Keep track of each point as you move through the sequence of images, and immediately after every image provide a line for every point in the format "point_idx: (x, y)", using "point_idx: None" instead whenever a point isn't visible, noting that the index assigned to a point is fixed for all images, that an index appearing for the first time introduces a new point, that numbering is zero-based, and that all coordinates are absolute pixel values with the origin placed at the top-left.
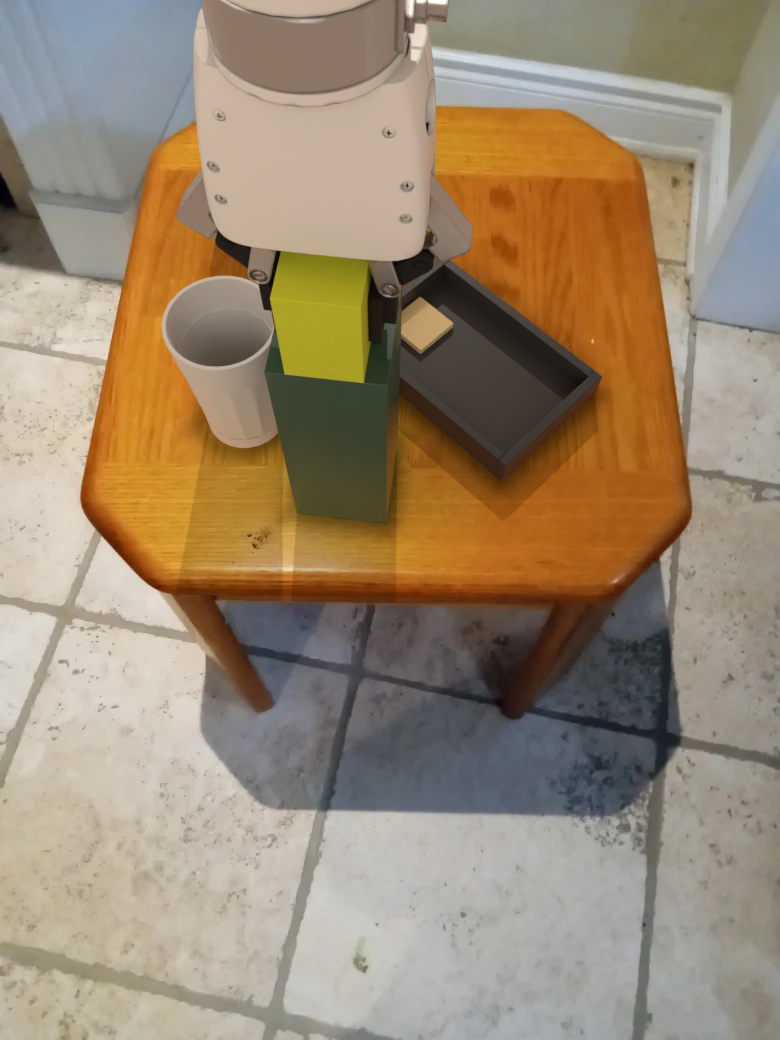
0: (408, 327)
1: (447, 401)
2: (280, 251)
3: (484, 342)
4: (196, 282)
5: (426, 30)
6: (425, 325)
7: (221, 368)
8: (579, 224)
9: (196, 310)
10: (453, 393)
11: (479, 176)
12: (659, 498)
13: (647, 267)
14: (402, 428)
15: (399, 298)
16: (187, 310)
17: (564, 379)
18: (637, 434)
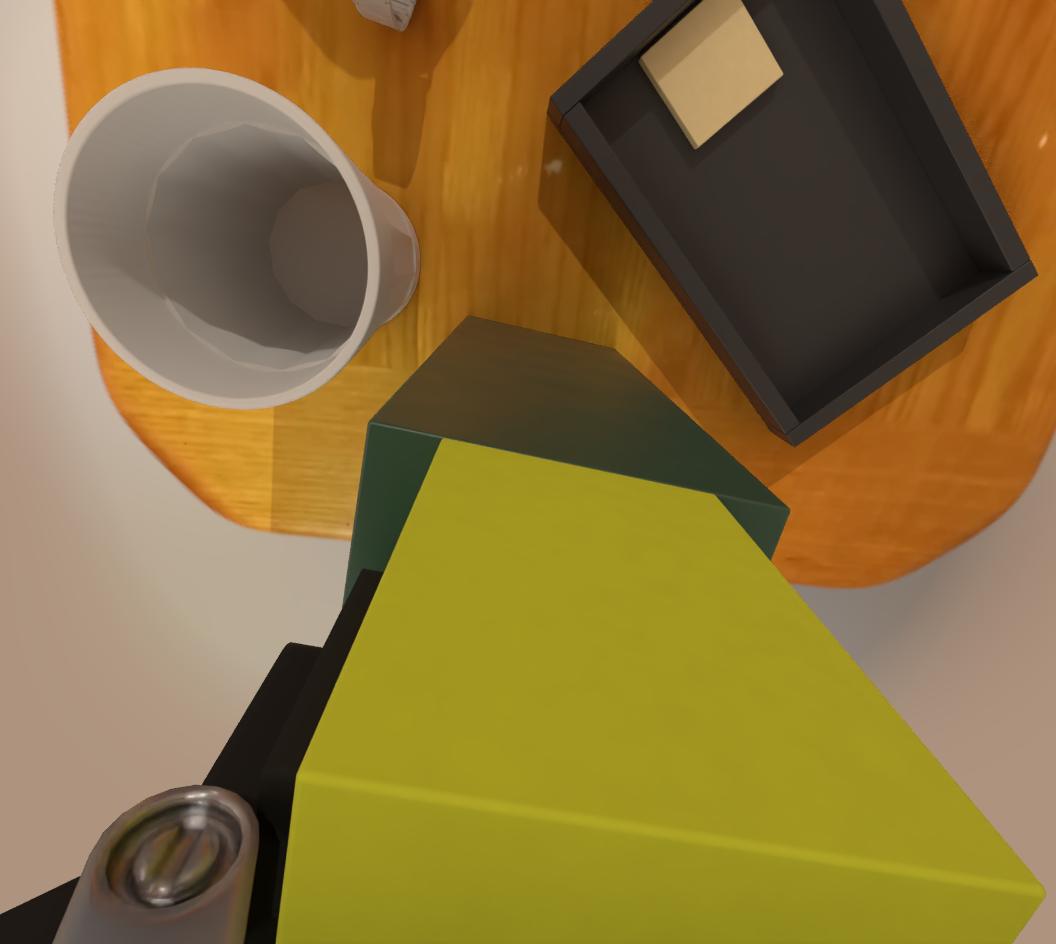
0: (684, 77)
1: (722, 273)
2: (270, 941)
3: (831, 130)
4: (122, 90)
5: None
6: (722, 74)
7: (245, 406)
8: None
9: (161, 142)
10: (737, 255)
11: None
12: (1001, 479)
13: None
14: (629, 314)
15: (769, 555)
16: (132, 156)
17: (953, 242)
18: (1024, 364)
